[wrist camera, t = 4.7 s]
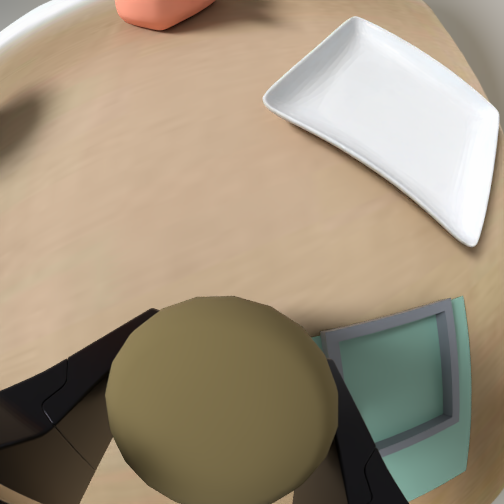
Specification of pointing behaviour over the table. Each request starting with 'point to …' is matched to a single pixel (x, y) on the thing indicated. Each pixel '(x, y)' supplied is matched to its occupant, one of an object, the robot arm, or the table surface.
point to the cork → (222, 402)
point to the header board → (411, 389)
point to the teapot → (158, 11)
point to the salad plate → (397, 120)
